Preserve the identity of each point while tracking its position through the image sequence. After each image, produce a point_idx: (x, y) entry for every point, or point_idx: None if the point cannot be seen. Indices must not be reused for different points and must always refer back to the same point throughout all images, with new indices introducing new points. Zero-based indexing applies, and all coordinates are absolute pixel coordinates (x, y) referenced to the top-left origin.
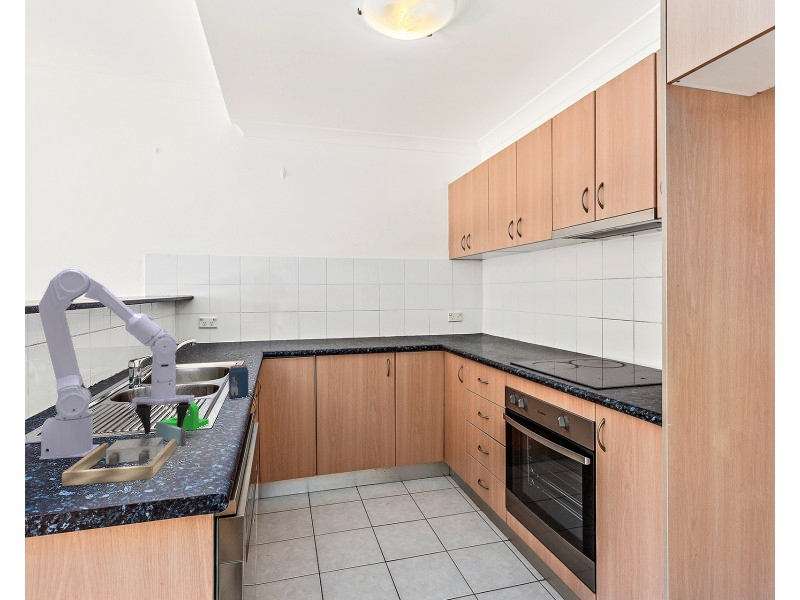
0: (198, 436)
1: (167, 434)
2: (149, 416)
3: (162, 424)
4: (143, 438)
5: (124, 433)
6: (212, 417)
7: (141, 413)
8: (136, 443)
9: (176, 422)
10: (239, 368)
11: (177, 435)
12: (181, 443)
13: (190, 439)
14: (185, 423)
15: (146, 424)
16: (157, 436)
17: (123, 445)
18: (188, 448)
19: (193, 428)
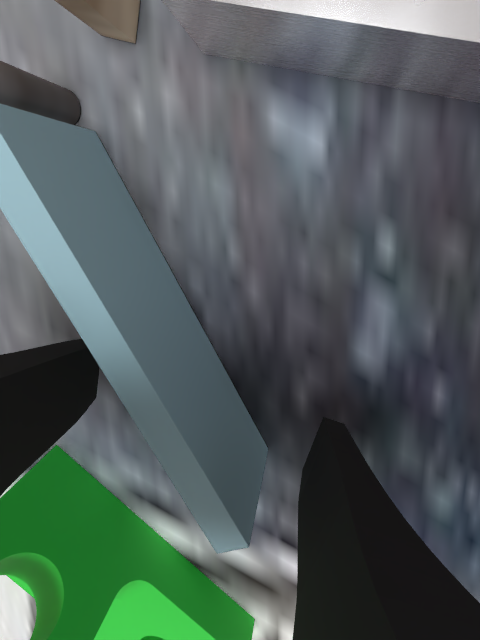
0: (8, 318)
1: (169, 321)
2: (305, 612)
3: (186, 439)
4: (391, 23)
5: None
6: (9, 627)
7: (451, 621)
8: None
9: (134, 578)
10: None
11: (57, 149)
12: (60, 90)
13: None
14: (75, 525)
15: (340, 469)
16: (257, 437)
17: None
18: (17, 5)
19: (43, 457)
